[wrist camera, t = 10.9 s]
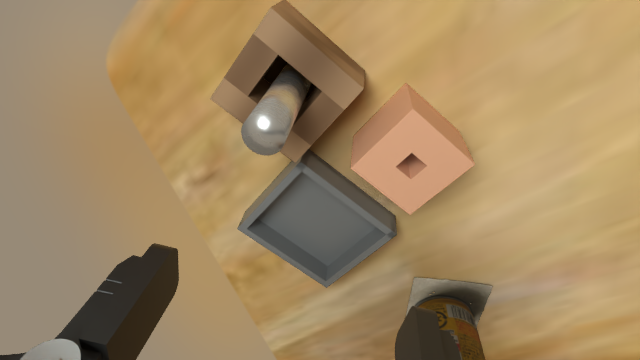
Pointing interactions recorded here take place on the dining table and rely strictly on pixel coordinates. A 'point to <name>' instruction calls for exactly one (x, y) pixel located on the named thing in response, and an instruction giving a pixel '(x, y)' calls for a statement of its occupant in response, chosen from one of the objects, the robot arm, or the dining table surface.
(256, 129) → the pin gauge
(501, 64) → the dining table surface
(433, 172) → the block
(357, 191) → the tray
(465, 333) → the condiment
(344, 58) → the go block
